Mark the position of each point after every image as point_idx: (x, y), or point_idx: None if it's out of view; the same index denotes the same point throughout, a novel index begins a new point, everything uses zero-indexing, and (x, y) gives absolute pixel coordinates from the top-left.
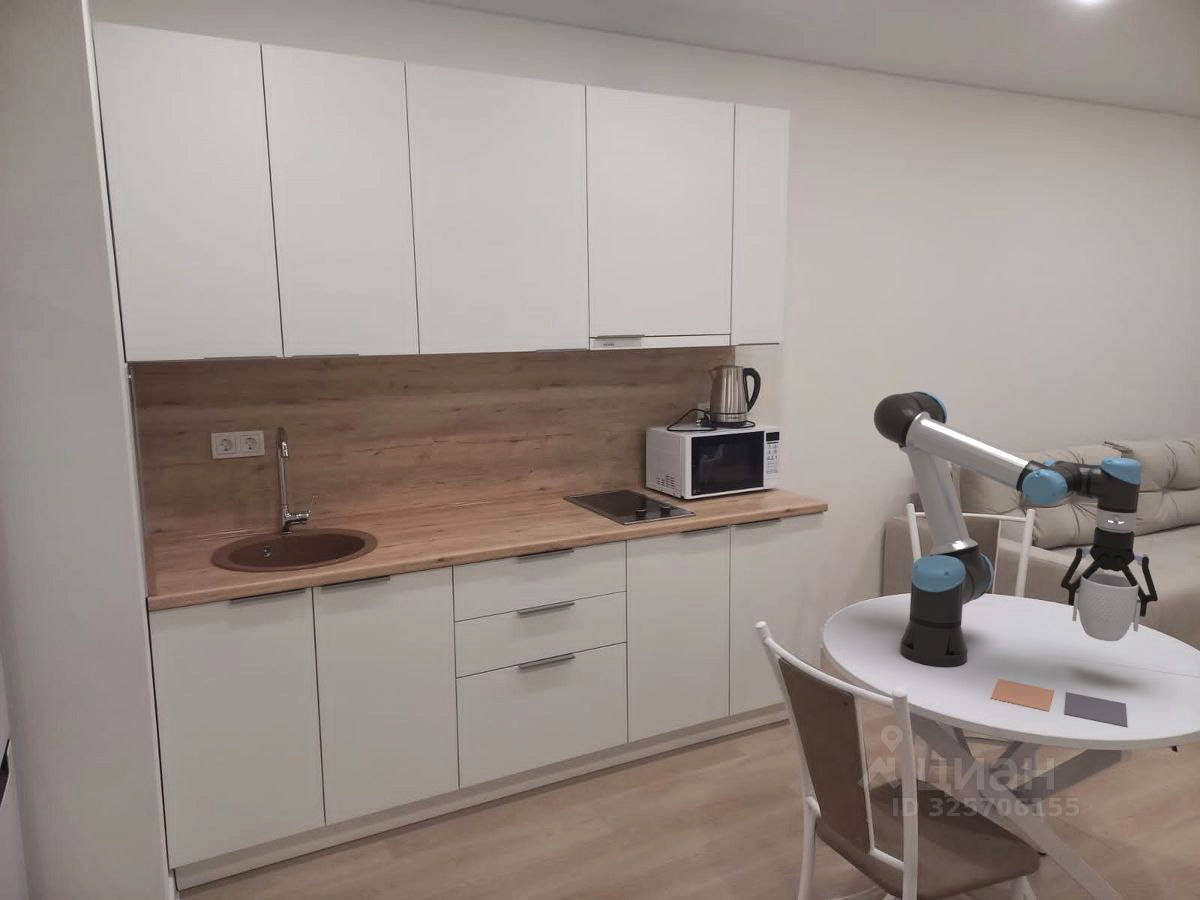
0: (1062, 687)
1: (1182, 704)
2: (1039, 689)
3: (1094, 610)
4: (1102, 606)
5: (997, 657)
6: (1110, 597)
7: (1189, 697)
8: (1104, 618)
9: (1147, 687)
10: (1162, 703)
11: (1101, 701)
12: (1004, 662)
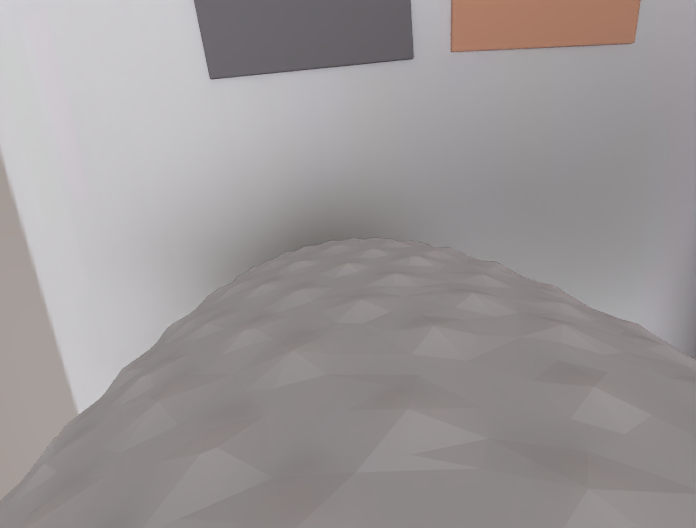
0: (427, 113)
1: (47, 217)
2: (500, 23)
3: (514, 276)
4: (456, 281)
5: (629, 267)
6: (363, 513)
7: (48, 302)
8: (361, 243)
9: (184, 305)
10: (105, 180)
11: (289, 39)
12: (609, 235)
